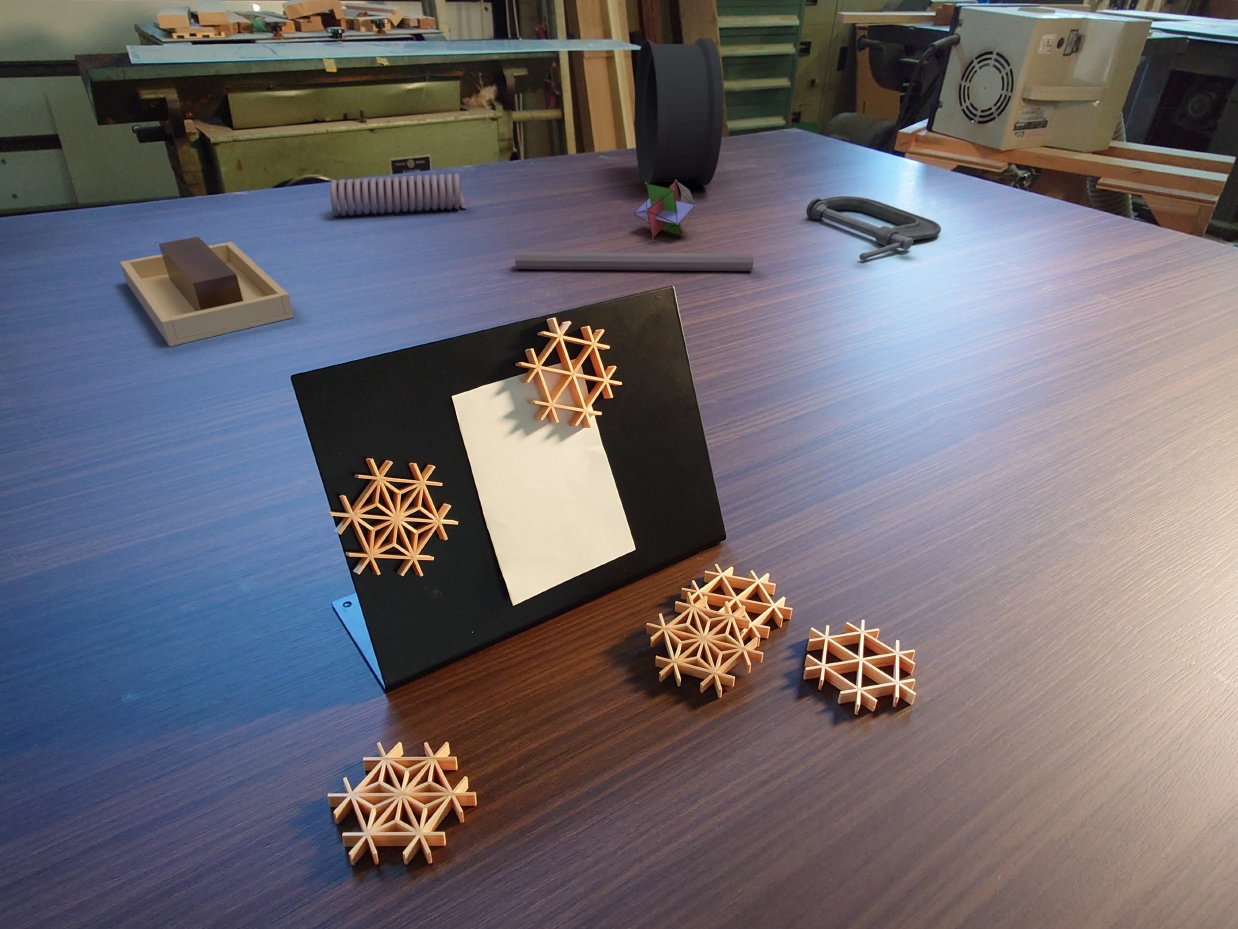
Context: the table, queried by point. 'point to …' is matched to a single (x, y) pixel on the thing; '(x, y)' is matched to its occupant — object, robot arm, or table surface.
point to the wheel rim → (678, 111)
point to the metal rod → (634, 261)
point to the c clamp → (890, 237)
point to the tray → (188, 325)
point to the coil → (396, 194)
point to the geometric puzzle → (666, 207)
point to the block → (200, 274)
